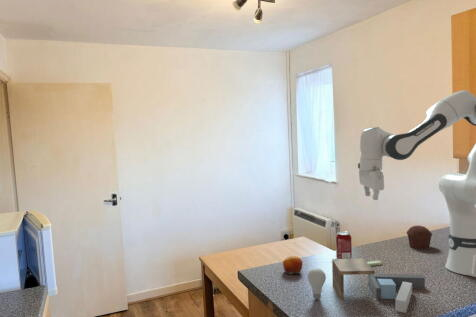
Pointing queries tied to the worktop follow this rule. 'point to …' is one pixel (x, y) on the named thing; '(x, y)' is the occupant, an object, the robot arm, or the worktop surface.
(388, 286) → the block
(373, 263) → the pale green stick
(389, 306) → the worktop surface
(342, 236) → the soda can
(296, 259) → the fruit
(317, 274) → the lightbulb
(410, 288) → the grey stick
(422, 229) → the muffin
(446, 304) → the worktop surface
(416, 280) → the hook tool
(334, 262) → the shelf
